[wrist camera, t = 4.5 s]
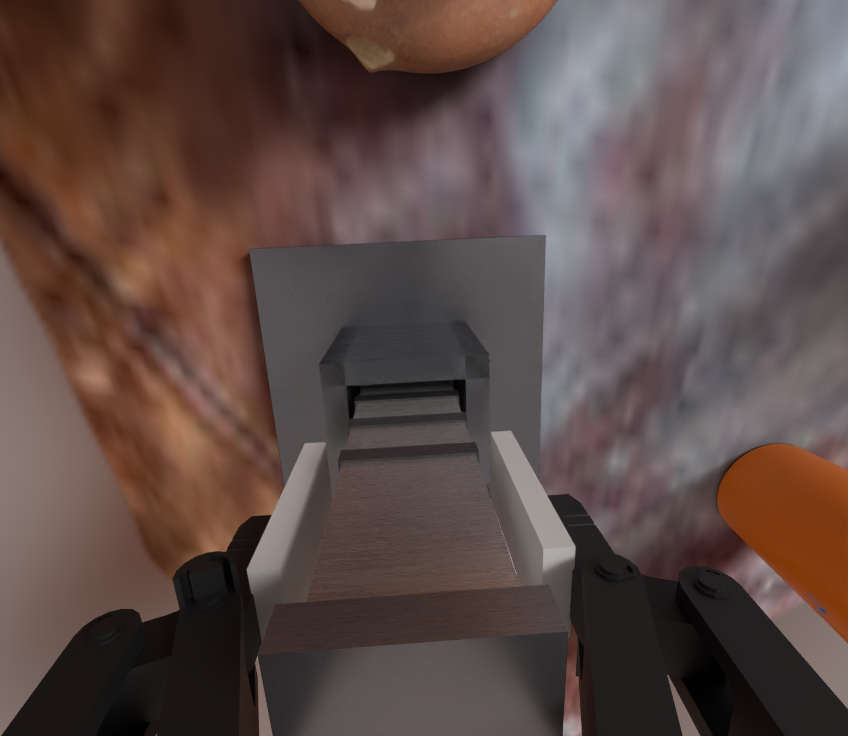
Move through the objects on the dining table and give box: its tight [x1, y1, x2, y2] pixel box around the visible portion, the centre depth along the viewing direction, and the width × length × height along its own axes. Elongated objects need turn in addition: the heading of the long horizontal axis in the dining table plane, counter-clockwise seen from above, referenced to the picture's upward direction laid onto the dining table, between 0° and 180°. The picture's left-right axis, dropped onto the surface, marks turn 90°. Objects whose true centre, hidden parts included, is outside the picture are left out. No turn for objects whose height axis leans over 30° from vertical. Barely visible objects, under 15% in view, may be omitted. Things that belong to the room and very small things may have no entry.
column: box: [258, 380, 568, 736], centre depth 17 cm, size 5×5×20 cm
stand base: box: [249, 235, 546, 499], centre depth 24 cm, size 16×16×9 cm
